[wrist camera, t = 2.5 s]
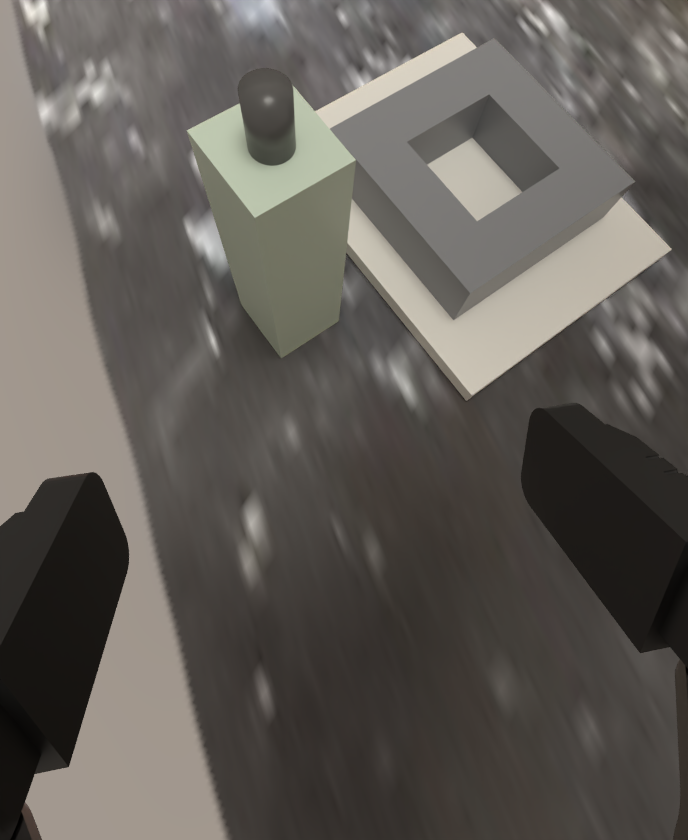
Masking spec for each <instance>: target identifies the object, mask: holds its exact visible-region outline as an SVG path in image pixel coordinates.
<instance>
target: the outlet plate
mask: <svg viewBox="0 0 688 840" xmlns="http://www.w3.org/2000/svg"><path fill="white" fill-rule="evenodd" d="M315 112H316V113H317V115H318V116H319V117H320V118H321V119H322V121H323V122H324V123H325V124H326V125H327V126H328V128H329V129H330V130H331V131H332V132H333V133H334V135H335V136H336V137H337V138H338V139H339V141H340V142H341V143H342V144H343V145H344V146H345V148H346V149H347V150H348V151H349V152H350V153H351V155H352V156H353V157H354V158H355V159H356V165H355V174H354V184H353V193H352V203H351V212H350V221H349V231H348V240H347V249H346V253H347V254H348V255H349V257H350V258H351V259H352V260H353V262H354V263H355V264H356V265H357V267H358V268H359V269H360V270H361V272H362V273H363V274H364V275H365V276H366V278H367V279H368V280H369V281H370V283H371V284H372V285H373V286H374V288H375V289H376V290H377V291H378V293H379V294H380V295H381V296H382V297H383V299H384V300H385V301H386V302H387V304H388V305H389V306H390V307H391V309H392V310H393V311H394V312H395V314H396V315H397V316H398V317H399V318H400V320H401V321H402V322H403V323H404V325H405V326H406V327H407V328H408V330H409V331H410V332H411V333H412V335H413V336H414V337H415V338H416V339H417V341H418V342H419V343H420V344H421V346H422V347H423V348H424V349H425V351H426V352H427V353H428V354H429V356H430V357H431V358H432V359H433V360H434V362H435V363H436V364H437V365H438V367H439V368H440V369H441V370H442V372H443V373H444V374H445V375H446V377H447V378H448V379H449V380H450V381H451V383H452V384H453V385H454V386H455V388H456V389H457V390H458V391H459V393H460V394H461V395H462V396H463V398H464V399H465V400H466V401H467V400H468V399H470V398H471V397H472V396H474V395H475V394H477V393H478V392H479V391H481V390H482V389H483V388H485V387H486V386H487V385H489V384H490V383H492V382H493V381H494V380H496V379H497V378H498V377H500V376H501V375H502V374H504V373H505V372H507V371H508V370H509V369H511V368H512V367H513V366H515V365H516V364H517V363H519V362H520V361H522V360H523V359H524V358H526V357H527V356H528V355H530V354H531V353H532V352H534V351H535V350H537V349H538V348H539V347H541V346H542V345H543V344H545V343H546V342H547V341H549V340H550V339H552V338H553V337H554V336H556V335H557V334H558V333H560V332H561V331H562V330H564V329H565V328H566V327H568V326H569V325H571V324H572V323H573V322H575V321H576V320H577V319H579V318H580V317H581V316H583V315H584V314H586V313H587V312H588V311H590V310H591V309H592V308H594V307H595V306H596V305H598V304H599V303H601V302H602V301H603V300H605V299H606V298H607V297H609V296H610V295H611V294H613V293H614V292H616V291H617V290H618V289H620V288H621V287H622V286H624V285H625V284H626V283H628V282H629V281H631V280H632V279H633V278H635V277H636V276H637V275H639V274H640V273H641V272H643V271H644V270H646V269H647V268H648V267H650V266H651V265H652V264H654V263H655V262H656V261H658V260H659V259H660V258H662V257H663V256H664V255H665V254H667V253H668V252H669V251H670V250H671V248H670V247H669V246H668V245H667V244H666V243H665V242H664V241H663V240H662V239H661V238H660V237H659V236H658V235H657V234H656V232H655V231H654V230H653V229H652V228H651V227H650V226H649V225H648V224H647V223H646V222H645V221H644V220H643V219H642V218H641V217H640V216H639V215H638V214H637V213H636V212H635V211H634V210H633V209H632V208H631V207H630V206H629V205H628V204H627V202H626V201H625V200H624V199H623V198H622V196H623V195H624V194H625V193H626V191H627V190H628V189H629V188H630V187H631V186H632V185H633V184H634V182H635V181H634V180H633V179H632V178H631V177H630V176H629V175H628V174H627V173H626V172H625V171H624V170H623V168H622V167H621V166H620V165H619V164H618V163H617V162H616V161H615V160H614V159H613V158H612V157H611V156H610V155H609V154H608V153H607V152H606V151H605V150H604V149H603V148H602V147H601V146H600V145H599V144H598V143H597V142H596V141H595V140H594V139H593V138H592V137H591V136H590V135H589V134H588V133H587V132H586V131H585V130H584V129H583V128H582V127H581V126H580V125H579V124H578V123H577V122H576V121H575V120H574V119H573V118H572V117H571V116H570V114H569V113H568V112H567V111H566V110H565V109H564V108H563V107H562V106H561V105H560V104H559V103H558V102H557V101H556V100H555V99H554V98H553V97H552V96H551V95H550V94H549V93H548V92H547V91H546V90H545V89H544V88H543V87H542V86H541V85H540V84H539V83H538V82H537V81H536V80H535V79H534V78H533V77H532V76H531V75H530V74H529V73H528V72H527V71H526V70H525V69H524V68H523V67H522V66H521V65H520V64H519V63H518V62H517V60H516V59H515V58H514V57H513V56H512V55H511V54H510V53H509V52H508V51H507V50H506V49H505V48H504V47H503V46H502V45H501V44H500V43H499V42H498V41H497V40H496V39H495V38H494V39H492V40H490V41H488V42H486V43H485V44H483V45H481V46H479V47H476V46H475V45H474V44H473V43H472V42H471V41H470V40H469V39H468V38H467V37H466V36H465V35H464V34H463V33H460V34H459V35H457V36H455V37H453V38H451V39H449V40H447V41H445V42H444V43H442V44H440V45H438V46H436V47H434V48H432V49H431V50H429V51H427V52H425V53H423V54H421V55H419V56H418V57H416V58H414V59H412V60H410V61H408V62H406V63H404V64H403V65H401V66H399V67H397V68H395V69H393V70H391V71H390V72H388V73H386V74H384V75H382V76H380V77H378V78H377V79H375V80H373V81H371V82H369V83H367V84H365V85H364V86H362V87H360V88H358V89H356V90H354V91H352V92H350V93H349V94H347V95H345V96H343V97H341V98H339V99H337V100H336V101H334V102H332V103H330V104H328V105H326V106H324V107H323V108H321V109H319V110H317V111H315Z"/></svg>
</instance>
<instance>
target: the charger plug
mask: <svg viewBox="0 0 688 840" xmlns="http://www.w3.org/2000/svg"><path fill="white" fill-rule="evenodd" d="M238 96H239V101H240V104H238V105H236V106H234V107H232V108H230V109H228V110H226V111H224V112H222V113H220V114H218V115H216V116H214V117H212V118H210V119H209V120H207V121H205V122H203V123H201V124H199V125H197V126H195V127H193V128H191V129H189V130H187V133H188V136H189V139H190V142H191V145H192V149H193V152H194V155H195V158H196V161H197V165H198V168H199V171H200V174H201V177H202V181H203V184H204V187H205V190H206V193H207V197H208V200H209V203H210V206H211V209H212V212H213V216H214V219H215V222H216V225H217V228H218V232H219V235H220V238H221V241H222V244H223V248H224V251H225V254H226V257H227V260H228V264H229V267H230V270H231V273H232V276H233V280H234V283H235V286H236V289H237V292H238V296H239V299H240V302H241V305H242V306H243V308H244V309H245V310H246V312H247V313H248V315H249V316H250V317H251V319H252V320H253V321H254V323H255V324H256V325H257V327H258V328H259V329H260V331H261V332H262V333H263V335H264V336H265V337H266V339H267V340H268V342H269V343H270V344H271V346H272V347H273V348H274V350H275V351H276V352H277V354H278V355H279V356H280V358H283V357H284V356H286V355H288V354H289V353H291V352H292V351H294V350H295V349H297V348H298V347H300V346H301V345H303V344H305V343H306V342H308V341H309V340H311V339H312V338H314V337H315V336H317V335H318V334H320V333H322V332H323V331H325V330H326V329H328V328H329V327H331V326H332V325H334V324H335V323H337V322H339V315H340V305H341V296H342V287H343V277H344V268H345V259H346V249H347V240H348V231H349V221H350V212H351V203H352V193H353V184H354V174H355V165H356V159H355V158H354V157H353V156H352V155H351V153H350V152H349V151H348V150H347V149H346V148H345V146H344V145H343V144H342V143H341V142H340V141H339V139H338V138H337V137H336V136H335V135H334V133H333V132H332V131H331V130H330V129H329V128H328V126H327V125H326V124H325V123H324V122H323V121H322V119H321V118H320V117H319V116H318V115H317V113H316V112H315V111H314V110H313V109H312V108H311V106H310V105H309V104H308V103H307V102H306V101H305V99H304V98H303V97H302V96H301V95H300V94H299V92H298V91H297V90H296V89H295V88H294V86H293V85H292V83H291V81H290V80H289V78H288V77H287V76H286V75H284V74H283V73H281V72H279V71H277V70H274V69H269V68H260V69H256V70H253V71H250V72H249V73H247V74H246V75H244V76H243V77H242V79H241V80H240V82H239V85H238Z"/></svg>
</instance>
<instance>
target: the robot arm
mask: <svg viewBox="0 0 688 840" xmlns="http://www.w3.org/2000/svg"><path fill="white" fill-rule="evenodd" d="M521 483H522V488H523V492H524V495H525V498H526V500H527V502H528V504H529V505H530V507H531V508H532V509H533V511H534V512H535V513H536V515H537V516H538V517H539V519H540V520H541V521H542V523H543V524H544V525H545V527H546V528H547V529H548V531H549V532H550V533H551V535H552V536H553V537H554V539H555V540H556V541H557V543H558V544H559V545H560V547H561V548H562V549H563V551H564V552H565V553H566V555H567V556H568V557H569V559H570V560H571V562H572V563H573V564H574V566H575V567H576V568H577V570H578V571H579V572H580V574H581V575H582V576H583V578H584V579H585V580H586V582H587V583H588V584H589V586H590V587H591V588H592V590H593V591H594V592H595V594H596V595H597V596H598V598H599V599H600V600H601V602H602V603H603V604H604V606H605V607H606V608H607V610H608V611H609V612H610V614H611V615H612V616H613V618H614V619H615V620H616V622H617V623H618V624H619V626H620V627H621V628H622V630H623V631H624V632H625V634H626V635H627V636H628V638H629V639H630V640H631V642H632V643H633V644H634V646H635V647H636V648H637V650H638V651H639V652H640V653H643V652H648V651H652V650H657V649H662V648H667V647H671V648H672V650H673V651H674V652H675V653H676V655H677V656H678V657H679V658H680V660H679V662H678V664H677V666H676V669H675V686H676V708H677V729H678V750H679V771H680V808H679V815H678V820H677V823H676V827H675V831H674V836H673V840H688V477H687V476H685V475H684V474H683V473H680V474H679V473H678V472H677V469H676V468H675V467H674V466H673V465H671V464H670V463H669V462H668V461H666V460H665V459H664V458H659V454H657V453H656V452H655V451H653V450H652V449H651V448H650V447H648V446H647V445H646V444H645V443H643V442H642V441H641V440H639V439H638V438H637V437H635V436H633V435H630V434H628V433H626V432H624V431H622V430H619V429H617V428H615V427H613V426H610V425H608V424H606V425H605V424H604V423H603V422H601V421H600V420H599V419H598V418H597V417H595V416H594V415H593V414H592V413H590V412H589V411H588V410H587V409H586V408H584V407H583V406H582V405H580V404H578V403H570V404H563V405H556V406H549V407H543V408H537V409H535V410H534V411H533V412H532V414H531V416H530V420H529V426H528V432H527V439H526V445H525V452H524V458H523V465H522V472H521ZM128 565H129V549H128V542H127V538H126V535H125V533H124V530H123V528H122V525H121V523H120V521H119V518H118V516H117V514H116V512H115V509H114V506H113V504H112V502H111V499H110V497H109V495H108V492H107V490H106V488H105V485H104V483H103V481H102V479H101V478H100V476H99V475H98V474H96V473H94V472H91V473H84V474H77V475H71V476H63V477H57V478H50V479H47V480H45V481H44V482H43V483H42V484H41V485H40V487H39V489H38V490H37V492H36V494H35V495H34V497H33V498H32V500H31V501H30V503H29V505H28V506H27V508H26V509H25V511H24V512H19V513H15V514H14V515H13V516H12V517H11V518H9V519H8V520H7V521H6V522H5V523H4V524H2V525H1V526H0V840H42V839H41V836H40V834H39V831H38V828H37V825H36V823H35V820H34V817H33V815H32V813H31V810H30V809H29V807H28V805H27V804H26V803H25V800H26V797H27V794H28V791H29V788H30V786H31V782H32V780H33V777H34V774H37V773H42V772H46V771H51V770H56V769H61V768H66V767H69V764H70V761H71V758H72V754H73V751H74V748H75V744H76V741H77V737H78V734H79V731H80V728H81V724H82V720H83V718H84V714H85V711H86V707H87V704H88V701H89V698H90V694H91V691H92V688H93V684H94V681H95V678H96V674H97V671H98V667H99V664H100V661H101V658H102V654H103V650H104V648H105V644H106V641H107V637H108V634H109V630H110V627H111V624H112V621H113V617H114V614H115V611H116V607H117V604H118V601H119V597H120V594H121V591H122V587H123V584H124V580H125V577H126V574H127V570H128Z"/></svg>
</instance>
